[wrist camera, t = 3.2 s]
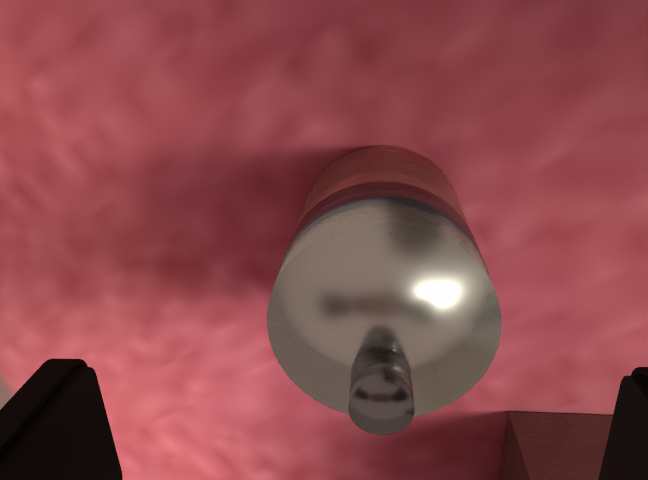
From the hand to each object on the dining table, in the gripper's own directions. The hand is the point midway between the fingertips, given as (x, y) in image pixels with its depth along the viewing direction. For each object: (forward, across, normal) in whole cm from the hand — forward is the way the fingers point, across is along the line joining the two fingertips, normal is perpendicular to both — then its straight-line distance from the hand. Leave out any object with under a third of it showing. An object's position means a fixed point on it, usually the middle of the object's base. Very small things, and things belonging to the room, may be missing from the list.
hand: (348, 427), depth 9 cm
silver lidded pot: (+9, -1, 0) cm, 9 cm away
